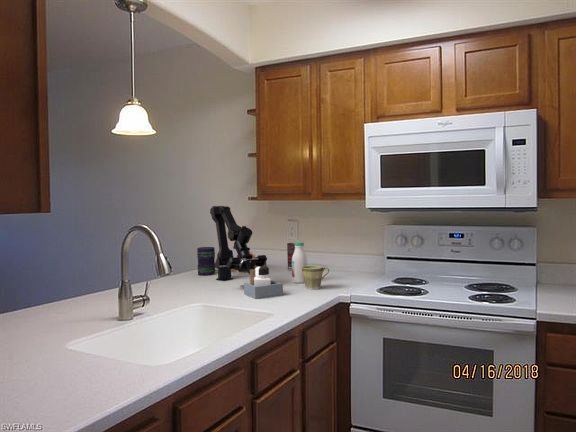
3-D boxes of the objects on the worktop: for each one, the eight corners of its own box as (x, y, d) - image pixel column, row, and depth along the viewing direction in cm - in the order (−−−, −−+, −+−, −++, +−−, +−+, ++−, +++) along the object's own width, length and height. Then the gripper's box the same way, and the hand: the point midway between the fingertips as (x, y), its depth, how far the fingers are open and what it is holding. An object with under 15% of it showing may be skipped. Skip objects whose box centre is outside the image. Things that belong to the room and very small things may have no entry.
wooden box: (224, 271, 267) (223, 260, 267) (249, 265, 286) (249, 256, 286) (242, 273, 259) (242, 262, 259) (267, 267, 278) (267, 257, 278)
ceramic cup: (305, 291, 207) (304, 269, 207) (300, 286, 217) (299, 265, 216) (332, 289, 210) (332, 267, 209) (326, 285, 220) (326, 264, 219)
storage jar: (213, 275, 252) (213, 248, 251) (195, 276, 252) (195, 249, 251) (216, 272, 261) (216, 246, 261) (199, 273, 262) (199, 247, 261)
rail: (240, 286, 219) (240, 285, 219) (244, 286, 221) (244, 284, 221) (247, 289, 212) (247, 288, 212) (251, 288, 214) (251, 287, 214)
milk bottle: (309, 281, 231) (309, 241, 230) (303, 283, 224) (303, 243, 223) (295, 280, 234) (295, 241, 234) (289, 282, 227) (288, 242, 227)
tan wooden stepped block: (245, 289, 208) (244, 269, 207) (260, 287, 212) (260, 268, 211) (249, 291, 204) (249, 271, 203) (265, 289, 208) (265, 269, 207)
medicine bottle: (270, 291, 207) (269, 265, 207) (270, 295, 200) (270, 267, 199) (254, 292, 206) (253, 265, 206) (254, 295, 199) (254, 268, 199)
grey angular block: (244, 294, 202) (243, 283, 202) (270, 290, 209) (270, 279, 209) (255, 298, 193) (255, 287, 192) (282, 295, 199) (282, 283, 199)
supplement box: (303, 270, 264) (303, 243, 264) (298, 271, 261) (297, 243, 260) (292, 269, 270) (292, 242, 270) (287, 270, 267) (286, 243, 266)
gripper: (254, 259, 228) (265, 284, 219) (219, 262, 219) (229, 289, 210) (261, 244, 221) (273, 270, 212) (225, 247, 212) (236, 274, 203)
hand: (253, 276), depth 209 cm, fingers closed
